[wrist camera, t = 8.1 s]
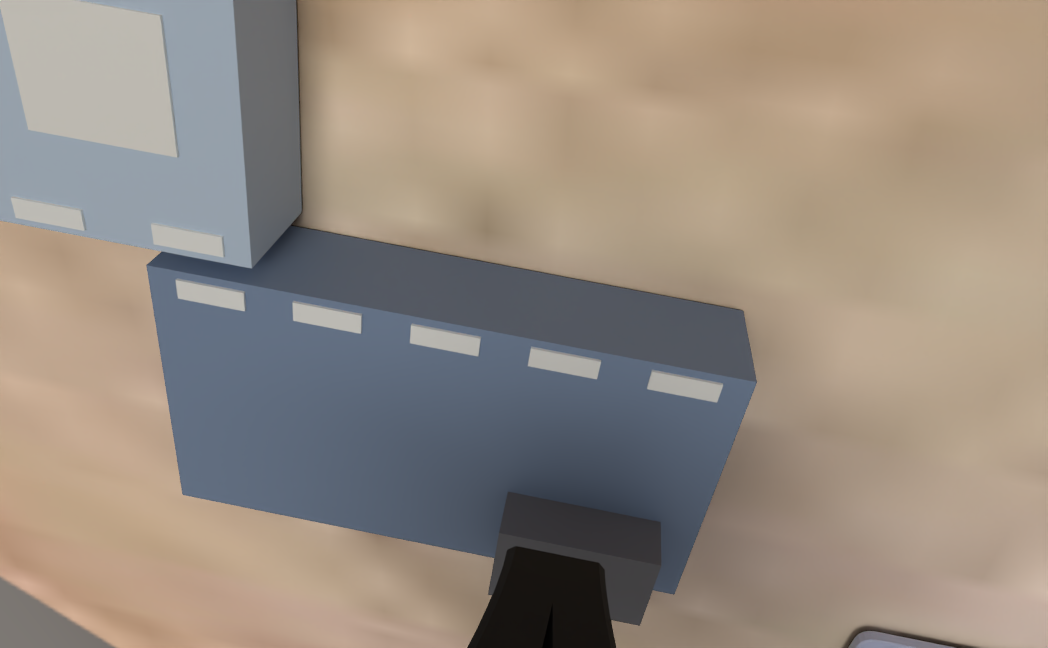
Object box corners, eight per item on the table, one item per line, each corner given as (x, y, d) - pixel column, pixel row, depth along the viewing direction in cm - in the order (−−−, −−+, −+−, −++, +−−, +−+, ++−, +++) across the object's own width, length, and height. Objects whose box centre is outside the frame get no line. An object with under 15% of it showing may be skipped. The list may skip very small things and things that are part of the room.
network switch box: (743, 310, 20) (764, 423, 16) (671, 513, 24) (675, 639, 20) (208, 210, 20) (111, 296, 16) (230, 425, 24) (156, 532, 21)
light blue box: (294, -64, 16) (228, -41, 14) (302, 212, 20) (250, 270, 17) (19, -112, 16) (-97, -99, 14) (76, 169, 20) (-8, 221, 17)
